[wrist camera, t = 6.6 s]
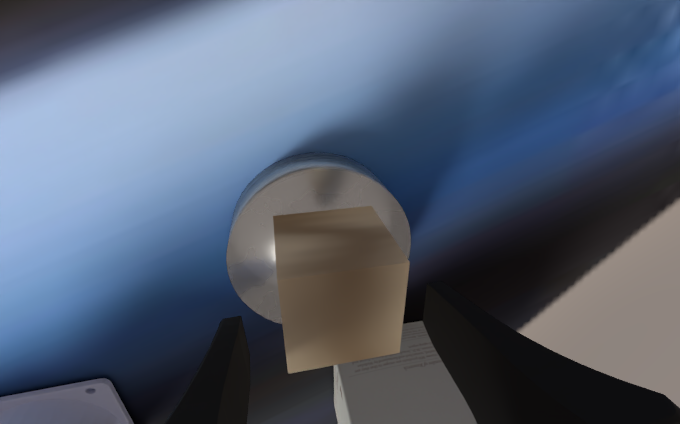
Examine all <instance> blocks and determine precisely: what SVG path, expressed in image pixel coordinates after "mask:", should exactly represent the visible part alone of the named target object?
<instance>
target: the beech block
mask: <svg viewBox="0 0 680 424" xmlns="http://www.w3.org/2000/svg"><path fill="white" fill-rule="evenodd" d="M273 225H274V240H275V255H276V270H277V283H278V292H279V300H280V309H281V317H282V326H283V334H284V343H285V351H286V360H287V368H288V374H290V373H295V372H300V371H306V370H311V369H316V368H321V367H327V366H332V365H337V364H343V363H348V362H353V361H359V360H364V359H369V358H375V357H380V356H385V355H390V354H396V353H400V344H401V336H402V327H403V318H404V309H405V300H406V291H407V282H408V273H409V264H410V262H409V260H408V259H407V257H406V256H405V255H404V253H403V252H402V250H401V249H400V247H399V246H398V244H397V243H396V241H395V240H394V238H393V237H392V235H391V234H390V232H389V231H388V229H387V228H386V226H385V225H384V223H383V222H382V220H381V219H380V218H379V216H378V215H377V213H376V212H375V210H374V209H373V207H372V206H365V207H355V208H345V209H335V210H326V211H316V212H306V213H296V214H286V215H277V216H273Z"/></svg>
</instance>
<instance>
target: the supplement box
mask: <svg viewBox="0 0 680 424" xmlns="http://www.w3.org/2000/svg"><path fill="white" fill-rule="evenodd" d="M334 405H335V410H336V415H337V420H338V424H477V422H476V420H475V418H474V416H473V414H472V412H471V410H470V408H469V406H468V404H467V402H466V401H465V399H464V397H463V395H462V394H461V392H460V390H459V389H458V387H457V385H456V384H455V382H454V380H453V379H452V377H451V375H450V374H449V372H448V370H447V368H446V367H445V365H444V363H443V362H442V360H441V358H440V357H439V355H438V353H437V351H436V350H435V348H434V346H433V344H432V342H431V340H430V338H429V335H428V333H427V331H426V328H425V326H424V324H423V321H418V322H411V323H406V324H403V327H402V336H401V344H400V353H396V354H390V355H385V356H380V357H375V358H369V359H364V360H359V361H353V362H348V363H343V364H337V365H334Z"/></svg>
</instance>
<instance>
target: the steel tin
mask: <svg viewBox="0 0 680 424" xmlns="http://www.w3.org/2000/svg"><path fill="white" fill-rule="evenodd" d="M365 206H372V207H373V209H374V210H375V212H376V213H377V215H378V216H379V218H380V219H381V220H382V222H383V223H384V225H385V226H386V228H387V229H388V231H389V232H390V234H391V235H392V237H393V238H394V240H395V241H396V243H397V244H398V246H399V247H400V249H401V250H402V252H403V253H404V255H405V256H406V257H407V259H408V258H409V253H410V247H411V234H410V227H409V223H408V220H407V217H406V215H405V213H404V211H403V209H402V207H401V206H400V204H399V203H398V201H397V200H396V199H395V198H394V196H393V195H392V194H391V193H390V192H389V191H388V189H387V188H386V187H385V186H384V185H383V184H382V182H381V181H380V180H379V179H378V178H377V177H376V176H375V175H374V174H373V173H372V172H371V171H370V170H369V169H367V168H366V167H365V166H364V165H362V164H360V163H358V162H356V161H355V160H352V159H350V158H347V157H345V156H341V155H337V154H331V153H306V154H299V155H295V156H292V157H288V158H285V159H283V160H281V161H278V162H276V163H274V164H273V165H271V166H269V167H268V168H266V169H265V170H263V171H262V172H261V173H259V174H258V175H257V176H256V177H255V178H254V179H253V180H252V181H251V182H250V183H249V184H248V185H247V187H246V188H245V189H244V191H243V192H242V194H241V196H240V197H239V199H238V201H237V203H236V206H235V209H234V212H233V217H232V222H231V228H230V234H229V241H228V247H227V261H226V263H227V270H228V275H229V278H230V281H231V283H232V285H233V287H234V289H235V291H236V293H237V294H238V296H239V297H240V298H241V300H242V301H243V302H244V303H245V304H246V305H247V306H248V307H249V308H251V309H252V310H253V311H255V312H256V313H257V314H259V315H261V316H263V317H264V318H266V319H269V320H271V321H274V322H276V323H280V324H282V317H281V309H280V300H279V292H278V283H277V270H276V255H275V240H274V225H273V216H277V215H286V214H296V213H306V212H316V211H326V210H335V209H345V208H355V207H365Z"/></svg>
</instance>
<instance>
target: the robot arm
mask: <svg viewBox="0 0 680 424" xmlns="http://www.w3.org/2000/svg"><path fill="white" fill-rule="evenodd" d="M423 324H424V326H425V328H426V331H427V333H428V335H429V338H430V340H431V342H432V344H433V346H434V348H435V350H436V351H437V353H438V355H439V357H440V358H441V360H442V362H443V363H444V365H445V367H446V368H447V370H448V372H449V374H450V375H451V377H452V379H453V380H454V382H455V384H456V385H457V387H458V389H459V390H460V392H461V394H462V395H463V397H464V399H465V401H466V402H467V404H468V406H469V408H470V410H471V412H472V414H473V416H474V418H475V420H476V422H477V424H680V408H679V407H678V406H676V405H675V404H674V403H673V402H672V401H671V400H670V399H668V398H667V397H666V396H665V395H663V394H661V393H658V392H655V391H651V390H649V389H646V388H642V387H639V386H637V385H634V384H630V383H628V382H625V381H622V380H619V379H617V378H614V377H612V376H609V375H606V374H604V373H601V372H599V371H596V370H594V369H591V368H589V367H587V366H584V365H581V364H579V363H577V362H575V361H573V360H571V359H568V358H566V357H564V356H562V355H560V354H558V353H555V352H553V351H552V350H549V349H547V348H546V347H544V346H542V345H540V344H538V343H536V342H534V341H532V340H531V339H529V338H527V337H525V336H523V335H522V334H520V333H518V332H516V331H515V330H513V329H511V328H510V327H508V326H507V325H505V324H503V323H502V322H500V321H498V320H497V319H495V318H494V317H492V316H491V315H489V314H488V313H486V312H485V311H483V310H482V309H480V308H479V307H477V306H476V305H475V304H473V303H472V302H470V301H469V300H467V299H466V298H465V297H463V296H462V295H460V294H459V293H458V292H456V291H455V290H453V289H452V288H451V287H449V286H448V285H446V284H445V283H443V282H442V281H439V282H434V283H428V284H427V289H426V297H425V306H424V314H423ZM249 392H250V354H249V349H248V345H247V340H246V336H245V332H244V327H243V323H242V318H241V316H237V317H231V318H225V319H223V320H222V321H221V322H220V325H219V327H218V330H217V332H216V334H215V336H214V339H213V341H212V343H211V345H210V347H209V349H208V351H207V353H206V355H205V357H204V359H203V361H202V363H201V364H200V366H199V368H198V370H197V372H196V374H195V376H194V377H193V379H192V381H191V382H190V384H189V386H188V387H187V389H186V391H185V393H184V394H183V396H182V398H181V399H180V401H179V402H178V404H177V405H176V407H175V409H174V410H173V412H172V413H171V415H170V416H169V418H168V419H167V421H166V422H165V423H164V424H247V414H248V403H249ZM0 424H134V423H133V421H132V419H131V417H130V415H129V414H128V412H127V410H126V408H125V406H124V404H123V403H122V401H121V399H120V397H119V395H118V393H117V391H116V390H115V388H114V386H113V384H112V382H111V381H110V380H108V379H105V378H100V379H94V380H89V381H84V382H78V383H73V384H68V385H62V386H57V387H52V388H47V389H41V390H36V391H31V392H25V393H20V394H15V395H9V396H4V397H0Z"/></svg>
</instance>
